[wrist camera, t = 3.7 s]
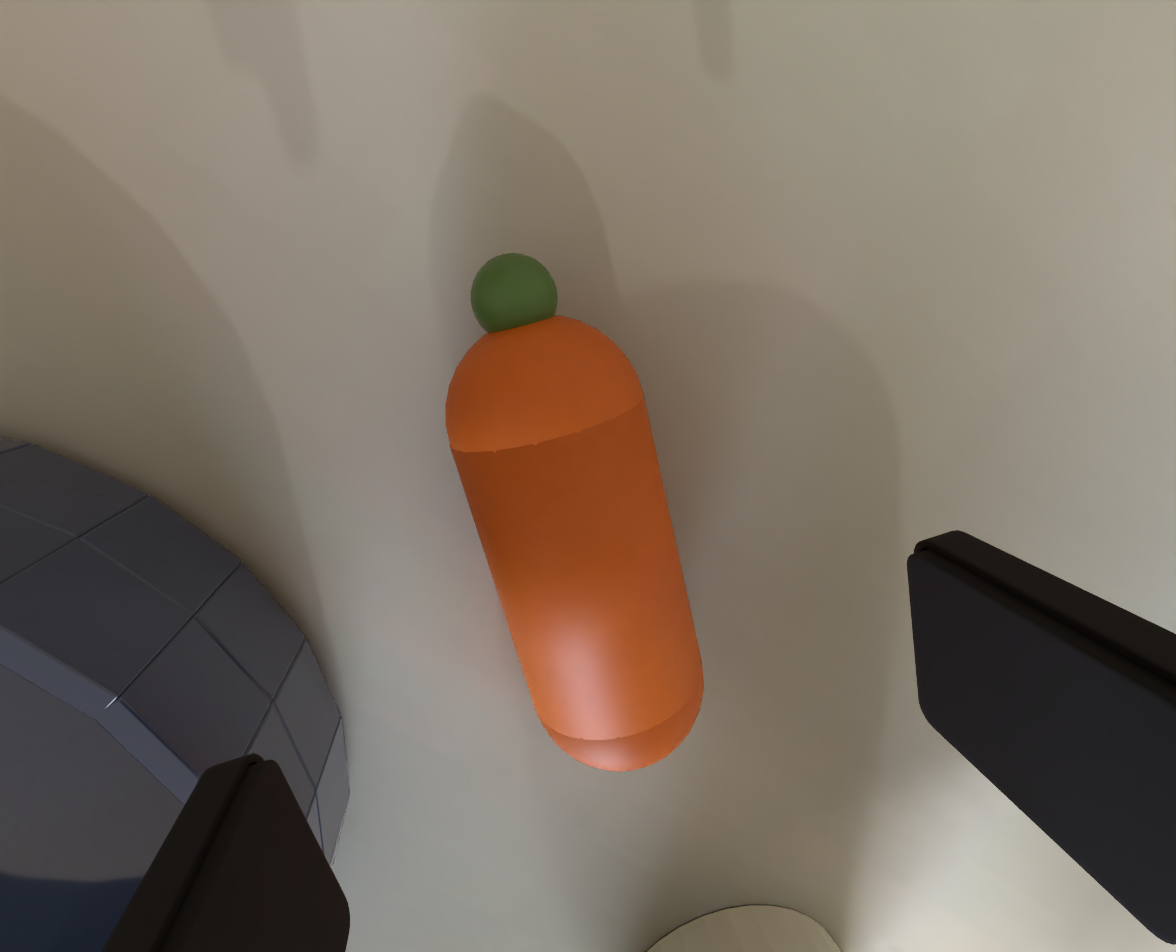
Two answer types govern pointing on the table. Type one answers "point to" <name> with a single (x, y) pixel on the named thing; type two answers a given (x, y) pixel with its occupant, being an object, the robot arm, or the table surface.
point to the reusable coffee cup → (749, 932)
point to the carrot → (574, 523)
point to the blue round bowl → (131, 694)
